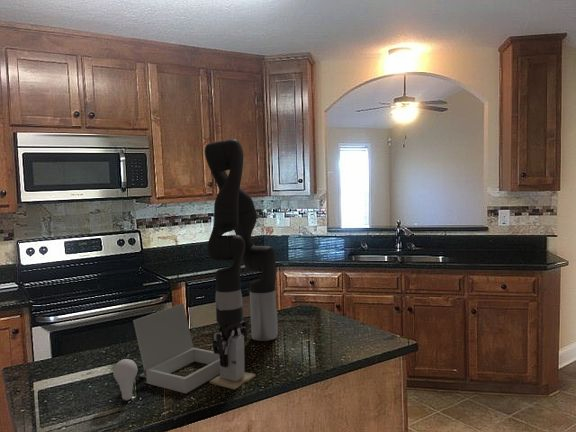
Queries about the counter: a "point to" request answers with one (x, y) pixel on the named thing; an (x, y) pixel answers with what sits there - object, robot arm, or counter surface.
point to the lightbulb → (125, 376)
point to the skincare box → (234, 360)
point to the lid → (163, 335)
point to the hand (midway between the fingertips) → (231, 362)
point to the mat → (230, 383)
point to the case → (161, 371)
